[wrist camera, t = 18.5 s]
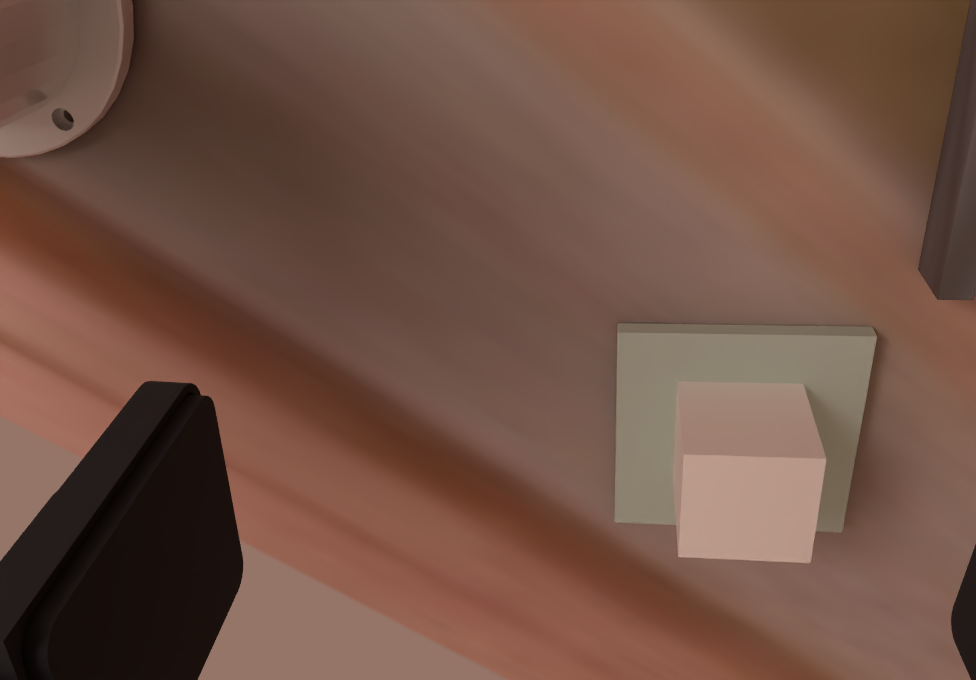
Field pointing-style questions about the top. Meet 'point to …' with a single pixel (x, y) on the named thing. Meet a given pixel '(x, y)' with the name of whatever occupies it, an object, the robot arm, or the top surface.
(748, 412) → the blank block
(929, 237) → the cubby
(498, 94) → the top surface
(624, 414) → the mat
